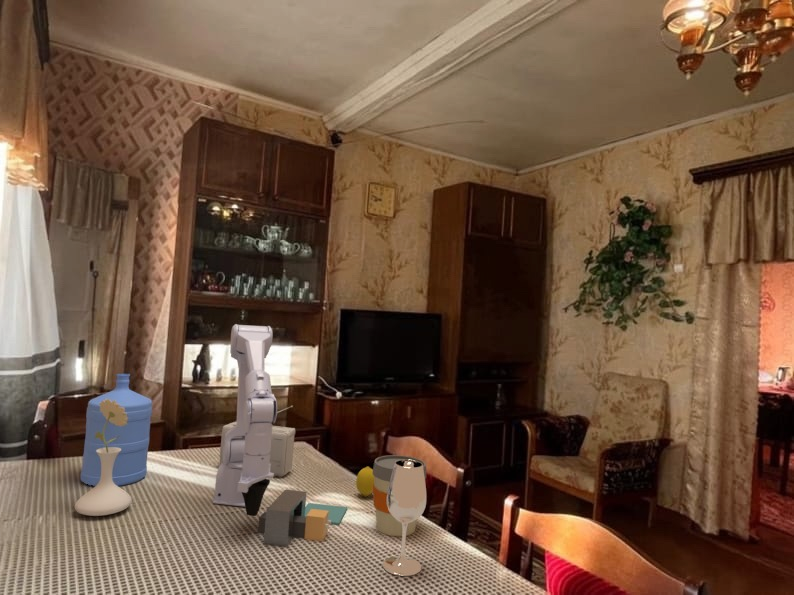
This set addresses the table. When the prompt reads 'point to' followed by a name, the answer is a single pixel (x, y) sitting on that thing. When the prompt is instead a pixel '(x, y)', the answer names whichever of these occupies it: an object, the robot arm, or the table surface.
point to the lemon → (365, 481)
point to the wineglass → (405, 509)
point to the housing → (283, 517)
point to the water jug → (130, 438)
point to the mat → (334, 511)
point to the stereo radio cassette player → (273, 448)
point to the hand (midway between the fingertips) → (252, 514)
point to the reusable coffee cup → (380, 489)
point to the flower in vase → (106, 472)
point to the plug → (317, 524)
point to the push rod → (298, 525)
